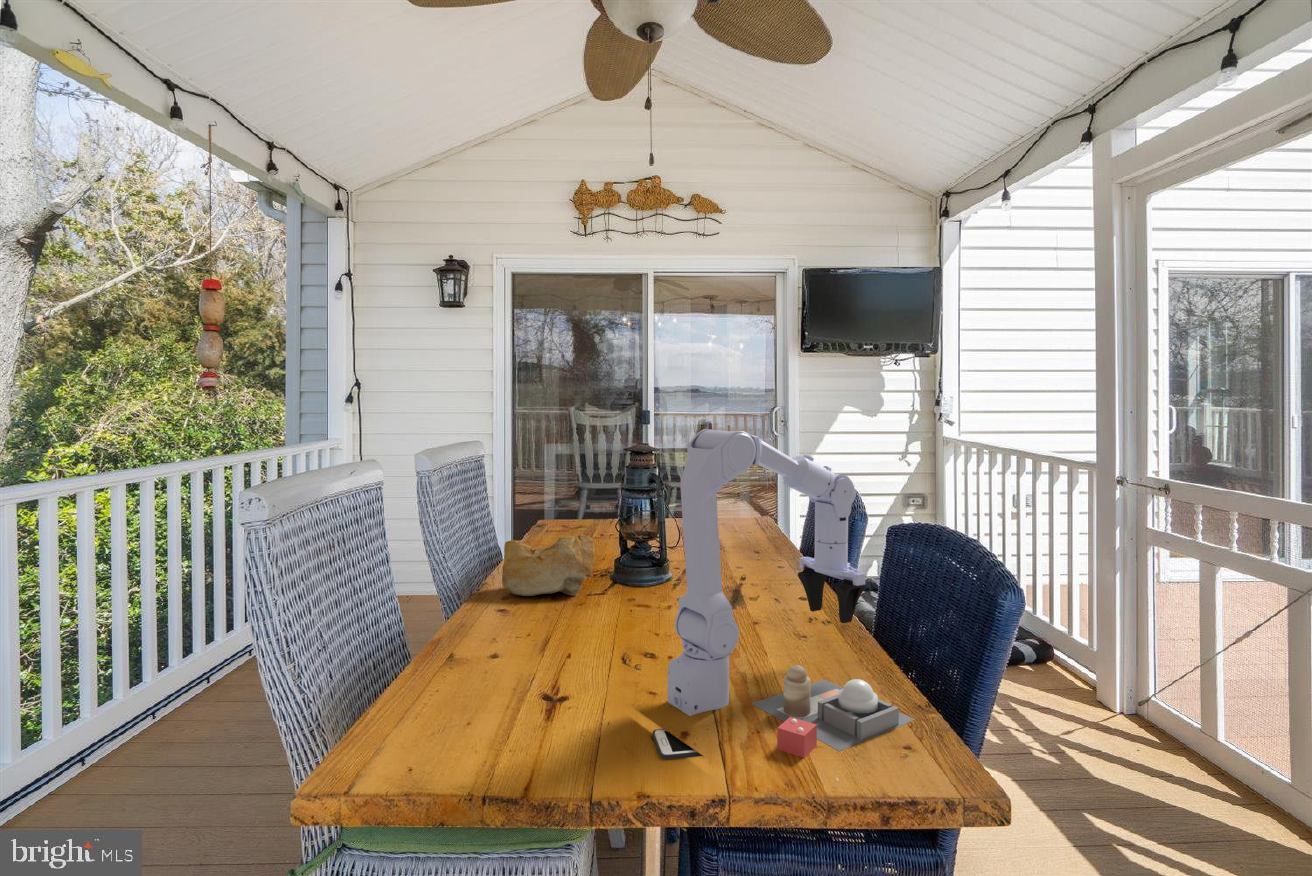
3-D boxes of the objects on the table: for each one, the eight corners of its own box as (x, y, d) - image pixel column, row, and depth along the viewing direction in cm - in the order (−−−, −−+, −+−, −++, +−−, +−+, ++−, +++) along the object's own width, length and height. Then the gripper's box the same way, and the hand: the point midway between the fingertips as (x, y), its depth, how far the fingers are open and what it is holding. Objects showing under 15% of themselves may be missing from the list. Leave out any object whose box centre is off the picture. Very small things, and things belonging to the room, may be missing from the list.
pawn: (796, 719, 105) (797, 672, 105) (778, 709, 108) (778, 664, 108) (815, 712, 107) (816, 667, 107) (796, 703, 111) (797, 659, 110)
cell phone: (651, 736, 103) (651, 729, 103) (747, 726, 106) (747, 720, 106) (660, 762, 96) (660, 755, 96) (764, 752, 98) (764, 745, 98)
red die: (804, 765, 94) (804, 733, 94) (777, 756, 96) (777, 724, 96) (816, 752, 97) (816, 721, 97) (790, 744, 100) (790, 714, 99)
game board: (839, 758, 96) (839, 733, 96) (751, 709, 111) (751, 688, 111) (915, 726, 105) (915, 703, 105) (824, 685, 120) (824, 665, 120)
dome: (860, 723, 100) (860, 691, 100) (830, 708, 105) (830, 678, 105) (885, 712, 104) (886, 682, 103) (855, 699, 108) (855, 670, 108)
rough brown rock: (604, 586, 186) (603, 529, 187) (592, 599, 170) (591, 536, 170) (519, 587, 188) (517, 531, 189) (499, 600, 172) (497, 538, 172)
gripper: (878, 545, 120) (877, 623, 121) (819, 531, 133) (819, 602, 134) (848, 550, 117) (847, 630, 118) (790, 535, 129) (790, 608, 130)
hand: (830, 616), depth 125 cm, fingers open, 7 cm apart
